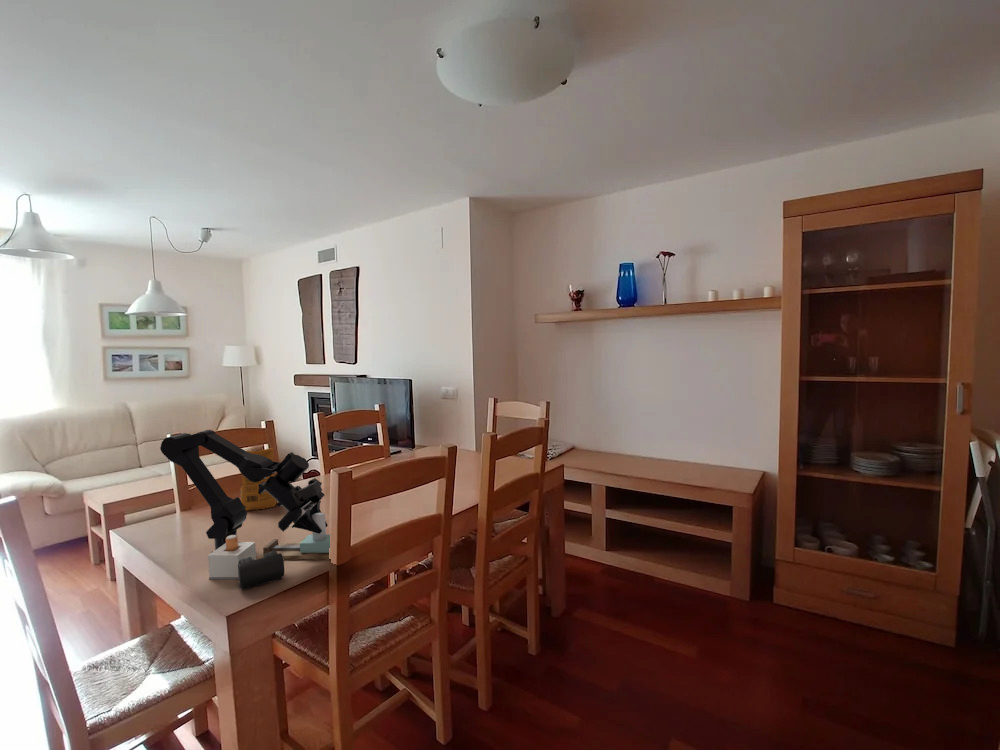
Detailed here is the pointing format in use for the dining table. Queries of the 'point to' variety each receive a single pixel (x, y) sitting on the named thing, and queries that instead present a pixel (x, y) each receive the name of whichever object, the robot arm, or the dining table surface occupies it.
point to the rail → (292, 551)
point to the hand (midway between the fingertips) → (323, 529)
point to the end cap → (260, 570)
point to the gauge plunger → (231, 543)
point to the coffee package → (257, 488)
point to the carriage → (316, 538)
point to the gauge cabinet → (229, 561)
